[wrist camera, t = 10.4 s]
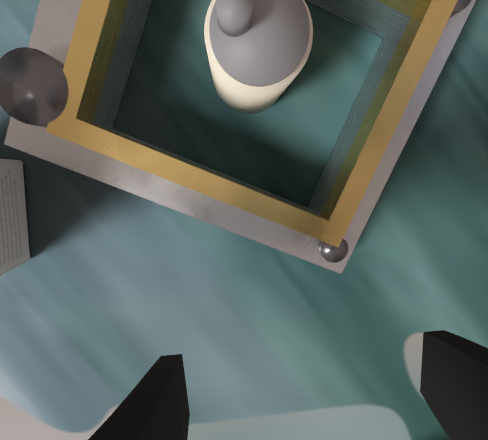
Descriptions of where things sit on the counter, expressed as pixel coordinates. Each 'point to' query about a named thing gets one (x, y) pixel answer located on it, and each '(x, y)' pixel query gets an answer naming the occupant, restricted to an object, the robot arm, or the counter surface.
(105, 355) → the counter surface
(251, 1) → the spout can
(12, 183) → the skincare box
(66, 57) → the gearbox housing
